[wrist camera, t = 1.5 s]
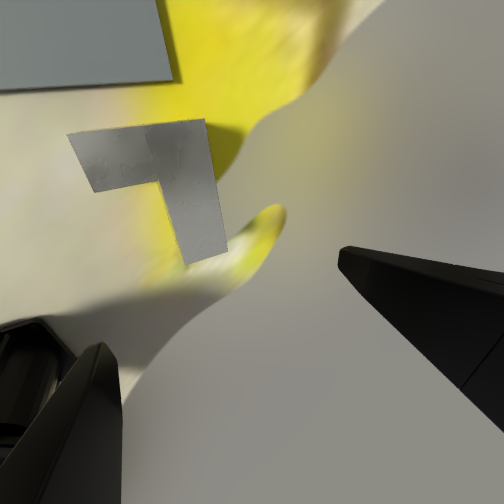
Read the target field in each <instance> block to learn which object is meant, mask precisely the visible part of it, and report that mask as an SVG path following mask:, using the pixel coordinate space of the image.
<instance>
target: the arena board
mask: <svg viewBox="0 0 504 504" xmlns="http://www.w3.org/2000/svg"><path fill="white" fill-rule="evenodd" d="M172 80H173V77H172V73H171V68H170V64H169V59H168V55H167V50H166V46H165V41H164V37H163V33H162V28H161V24H160V19H159V15H158V10H157V6H156V1H155V0H0V91H5V90H22V89H40V88H57V87H75V86H93V85H110V84H128V83H145V82H163V81H172Z"/></svg>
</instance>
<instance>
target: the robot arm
mask: <svg viewBox="0 0 504 504" xmlns="http://www.w3.org/2000/svg"><path fill="white" fill-rule="evenodd" d="M338 268H339V270H340V271H341V272H342V273H343V275H344V276H345V277H346V278H347V279H348V280H349V282H350V283H351V284H352V285H353V286H354V287H355V289H356V290H357V291H358V292H359V293H360V294H361V295H362V296H363V297H364V298H365V299H366V300H367V301H368V302H369V303H370V304H371V305H372V306H373V307H374V308H375V309H376V310H377V311H378V312H379V313H380V314H381V315H382V316H383V317H384V318H385V319H386V320H387V321H388V322H389V323H390V324H392V325H393V326H394V327H395V328H396V329H397V330H398V331H399V332H400V333H401V334H402V335H403V336H404V337H405V338H406V339H407V340H408V341H409V342H410V343H411V344H412V345H414V347H415V348H416V349H417V350H418V351H420V352H421V353H422V354H423V355H424V356H425V357H426V358H427V359H428V360H429V361H430V362H431V363H432V364H433V365H434V366H435V367H436V368H437V369H438V370H439V371H440V372H442V373H443V375H444V376H446V377H447V378H448V379H449V380H450V381H451V382H452V383H453V384H454V385H455V386H456V387H457V388H458V389H459V390H460V391H461V392H462V393H463V394H464V395H465V396H466V397H467V398H468V399H469V400H470V401H471V402H472V403H473V404H474V405H475V406H476V407H478V409H480V410H481V411H482V412H483V413H484V414H485V415H486V416H487V417H488V418H489V419H490V420H491V421H492V422H493V423H494V424H495V425H496V426H497V427H498V428H499V429H500V430H501V431H502V432H503V433H504V273H503V272H496V271H489V270H482V269H477V268H471V267H465V266H459V265H453V264H448V263H442V262H438V261H432V260H426V259H421V258H415V257H409V256H404V255H398V254H393V253H387V252H382V251H376V250H371V249H365V248H360V247H354V246H347V247H344V248H342V249H340V251H339V258H338ZM32 325H37V327H34V326H32ZM60 382H61V383H60ZM122 426H123V419H122V403H121V393H120V383H119V373H118V364H117V360H116V358H115V356H114V355H113V353H112V352H111V350H110V349H109V348H108V346H107V345H106V344H105V343H104V342H98V343H96V344H93V345H90V346H88V347H87V348H86V349H85V350H84V351H83V353H82V354H81V355H80V357H79V358H78V359H77V358H76V357H75V356H74V354H73V353H72V352H71V351H70V350H69V349H68V348H67V346H66V345H65V344H64V343H63V342H62V341H61V340H60V338H59V337H58V336H57V335H56V334H55V333H54V332H53V330H52V329H51V328H50V327H49V326H48V325H47V324H46V322H45V321H43V320H42V319H36V318H35V319H31V320H28V321H24V322H21V323H18V324H15V325H12V326H9V327H6V328H3V329H0V504H121V474H122V473H121V472H122Z"/></svg>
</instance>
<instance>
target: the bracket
mask: <svg viewBox="0 0 504 504" xmlns="http://www.w3.org/2000/svg"><path fill="white" fill-rule="evenodd" d="M66 135H67V137H68V139H69V141H70V143H71V145H72V147H73V149H74V151H75V154H76V156H77V158H78V160H79V162H80V164H81V166H82V168H83V170H84V172H85V174H86V177H87V179H88V181H89V183H90V185H91V187H92V189H93V191H94V193H96V192H102V191H107V190H112V189H117V188H122V187H127V186H133V185H138V184H143V183H148V182H153V181H157V184H158V187H159V190H160V194H161V197H162V200H163V203H164V206H165V209H166V213H167V216H168V219H169V222H170V225H171V228H172V231H173V235H174V238H175V241H176V243H177V246H178V248H179V251H180V253H181V256H182V258H183V261H184V263H185V265H188V264H191V263H194V262H197V261H200V260H203V259H207V258H210V257H213V256H216V255H219V254H222V253H225V252H228V248H227V243H226V237H225V231H224V226H223V220H222V214H221V209H220V203H219V198H218V192H217V186H216V180H215V175H214V169H213V163H212V158H211V152H210V146H209V141H208V135H207V129H206V124H205V119H187V120H178V121H169V122H161V123H152V124H143V125H134V126H125V127H116V128H108V129H99V130H90V131H81V132H76V133H71V134H66Z"/></svg>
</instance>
